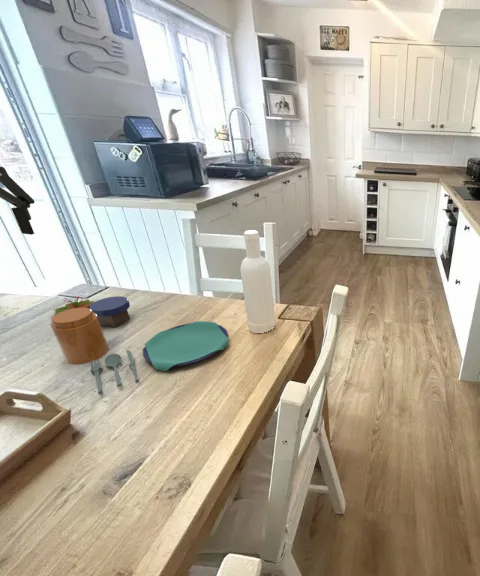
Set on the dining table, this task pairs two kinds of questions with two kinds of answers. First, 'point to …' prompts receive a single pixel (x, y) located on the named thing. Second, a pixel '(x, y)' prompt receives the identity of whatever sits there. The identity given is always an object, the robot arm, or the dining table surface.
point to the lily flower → (74, 305)
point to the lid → (110, 306)
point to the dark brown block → (114, 319)
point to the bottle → (257, 286)
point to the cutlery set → (173, 348)
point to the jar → (79, 335)
